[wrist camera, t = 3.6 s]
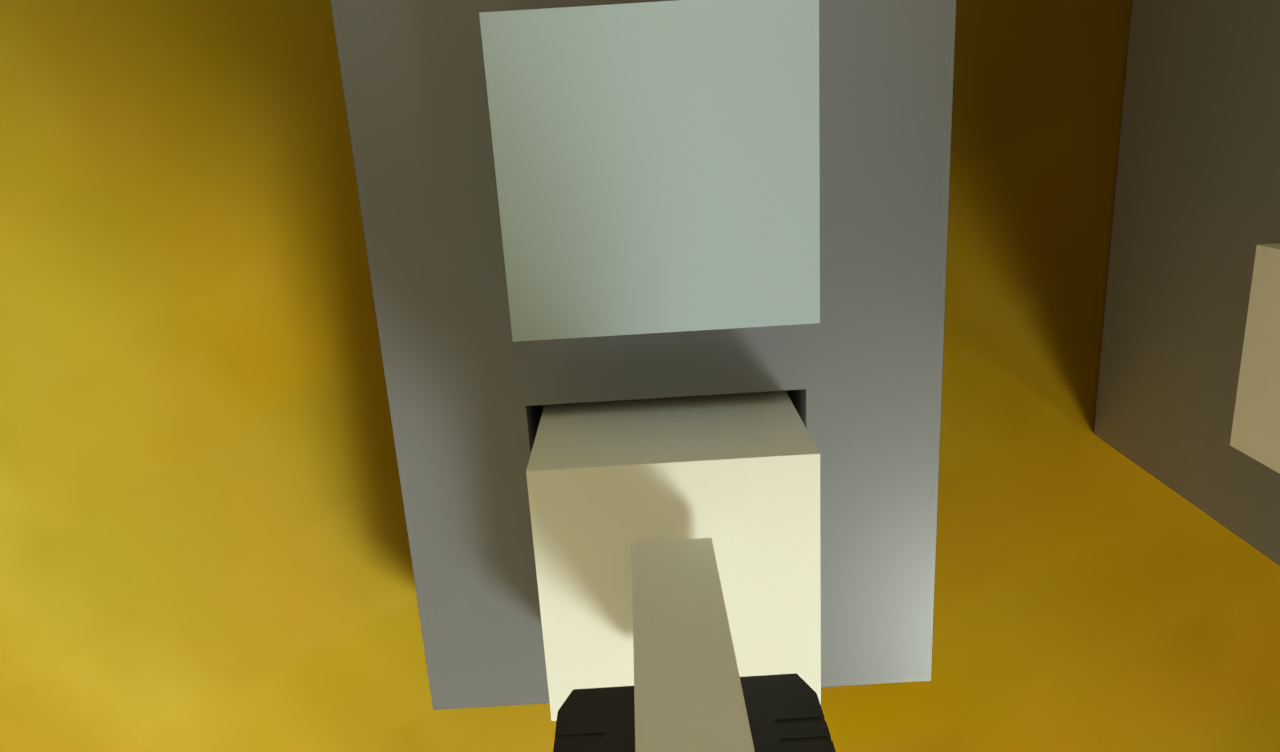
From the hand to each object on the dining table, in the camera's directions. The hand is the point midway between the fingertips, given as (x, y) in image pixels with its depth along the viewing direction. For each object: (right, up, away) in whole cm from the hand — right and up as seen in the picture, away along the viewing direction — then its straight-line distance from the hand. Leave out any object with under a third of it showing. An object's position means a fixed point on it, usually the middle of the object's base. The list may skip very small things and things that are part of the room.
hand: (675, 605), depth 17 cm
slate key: (0, +9, +2) cm, 9 cm away
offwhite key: (0, +1, +4) cm, 5 cm away
